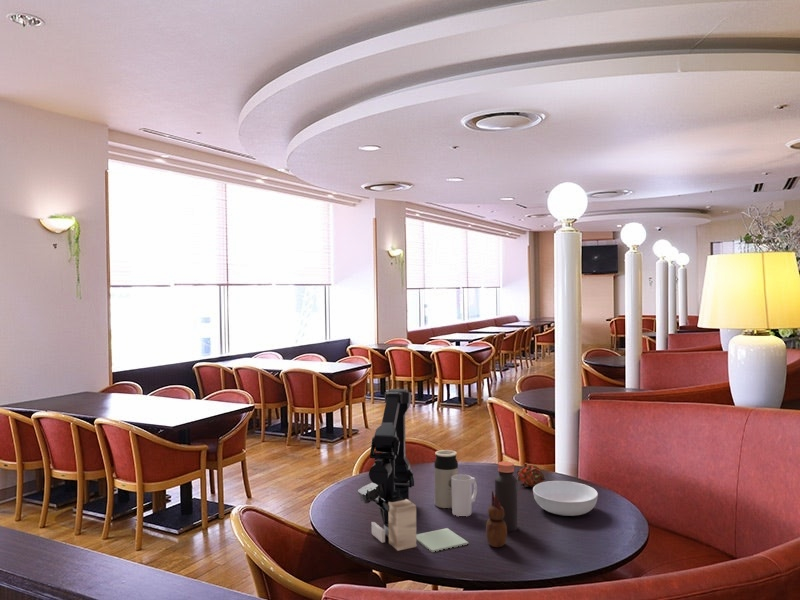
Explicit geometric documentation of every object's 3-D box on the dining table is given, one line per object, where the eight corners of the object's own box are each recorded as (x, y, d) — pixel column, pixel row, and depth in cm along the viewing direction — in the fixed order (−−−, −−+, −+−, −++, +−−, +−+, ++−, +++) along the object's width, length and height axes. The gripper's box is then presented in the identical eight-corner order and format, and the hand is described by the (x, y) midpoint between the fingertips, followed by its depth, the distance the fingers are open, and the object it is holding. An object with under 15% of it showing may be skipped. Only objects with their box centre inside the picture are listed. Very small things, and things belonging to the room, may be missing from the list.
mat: (412, 537, 186) (412, 535, 186) (447, 529, 191) (447, 528, 191) (432, 552, 175) (432, 550, 175) (468, 544, 180) (468, 542, 180)
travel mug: (430, 503, 215) (430, 451, 215) (451, 499, 218) (450, 448, 218) (441, 510, 208) (440, 456, 207) (462, 507, 211) (461, 454, 210)
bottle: (499, 533, 188) (499, 467, 188) (492, 524, 195) (491, 461, 195) (520, 531, 190) (520, 465, 189) (512, 522, 196) (512, 459, 196)
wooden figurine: (484, 540, 183) (483, 489, 183) (503, 539, 183) (503, 489, 183) (489, 550, 176) (488, 497, 176) (509, 549, 177) (509, 496, 176)
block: (388, 542, 182) (388, 502, 181) (407, 539, 184) (406, 498, 184) (397, 550, 176) (397, 508, 176) (416, 546, 179) (416, 505, 179)
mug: (460, 518, 200) (460, 481, 200) (447, 512, 206) (447, 476, 205) (483, 512, 206) (483, 476, 206) (470, 506, 211) (469, 471, 211)
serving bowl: (520, 512, 206) (520, 491, 206) (552, 496, 221) (552, 476, 221) (579, 528, 192) (579, 506, 192) (609, 510, 207) (608, 489, 207)
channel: (371, 533, 188) (371, 522, 188) (399, 528, 193) (399, 516, 193) (381, 542, 182) (381, 530, 182) (410, 536, 186) (410, 525, 186)
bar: (383, 534, 189) (383, 524, 189) (392, 532, 190) (392, 522, 190) (393, 542, 182) (393, 532, 182) (402, 540, 184) (402, 530, 184)
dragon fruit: (543, 495, 227) (518, 491, 236) (554, 477, 231) (529, 474, 241) (532, 478, 224) (507, 475, 234) (542, 461, 229) (518, 459, 238)
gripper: (349, 469, 195) (350, 519, 195) (373, 486, 178) (374, 540, 178) (381, 464, 200) (382, 513, 200) (408, 481, 183) (408, 533, 183)
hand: (385, 524), depth 190 cm, fingers closed
